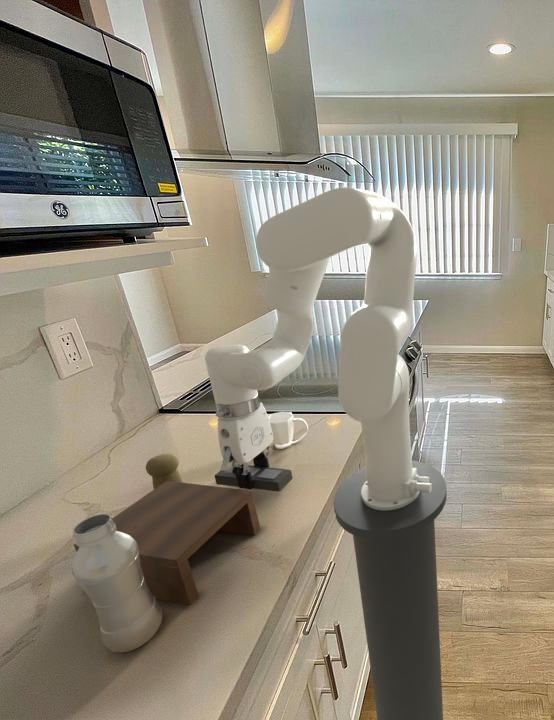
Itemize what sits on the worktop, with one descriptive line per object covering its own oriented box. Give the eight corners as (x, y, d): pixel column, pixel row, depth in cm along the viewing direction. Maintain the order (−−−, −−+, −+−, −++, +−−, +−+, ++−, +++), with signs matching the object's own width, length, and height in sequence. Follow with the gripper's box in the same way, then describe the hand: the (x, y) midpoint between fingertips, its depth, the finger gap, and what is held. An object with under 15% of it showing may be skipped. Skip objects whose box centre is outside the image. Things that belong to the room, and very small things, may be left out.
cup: (272, 439, 106) (266, 412, 104) (311, 434, 109) (307, 408, 106) (266, 453, 100) (260, 425, 97) (308, 447, 103) (303, 420, 100)
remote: (292, 478, 88) (290, 468, 87) (279, 491, 83) (277, 481, 82) (232, 471, 90) (229, 462, 89) (216, 484, 85) (213, 474, 85)
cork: (162, 496, 84) (147, 452, 81) (195, 490, 86) (182, 446, 83) (151, 515, 79) (135, 468, 75) (187, 508, 81) (173, 462, 77)
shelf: (260, 529, 76) (251, 490, 73) (190, 605, 61) (175, 560, 58) (178, 518, 78) (166, 480, 75) (92, 588, 63) (73, 544, 60)
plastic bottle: (170, 606, 60) (132, 499, 54) (161, 646, 55) (117, 532, 48) (116, 626, 57) (68, 515, 51) (100, 670, 52) (45, 552, 45)
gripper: (223, 427, 72) (242, 508, 78) (281, 389, 88) (293, 460, 94) (187, 423, 73) (209, 504, 79) (251, 387, 89) (265, 457, 95)
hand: (254, 479), depth 86 cm, fingers closed on remote, 4 cm apart
